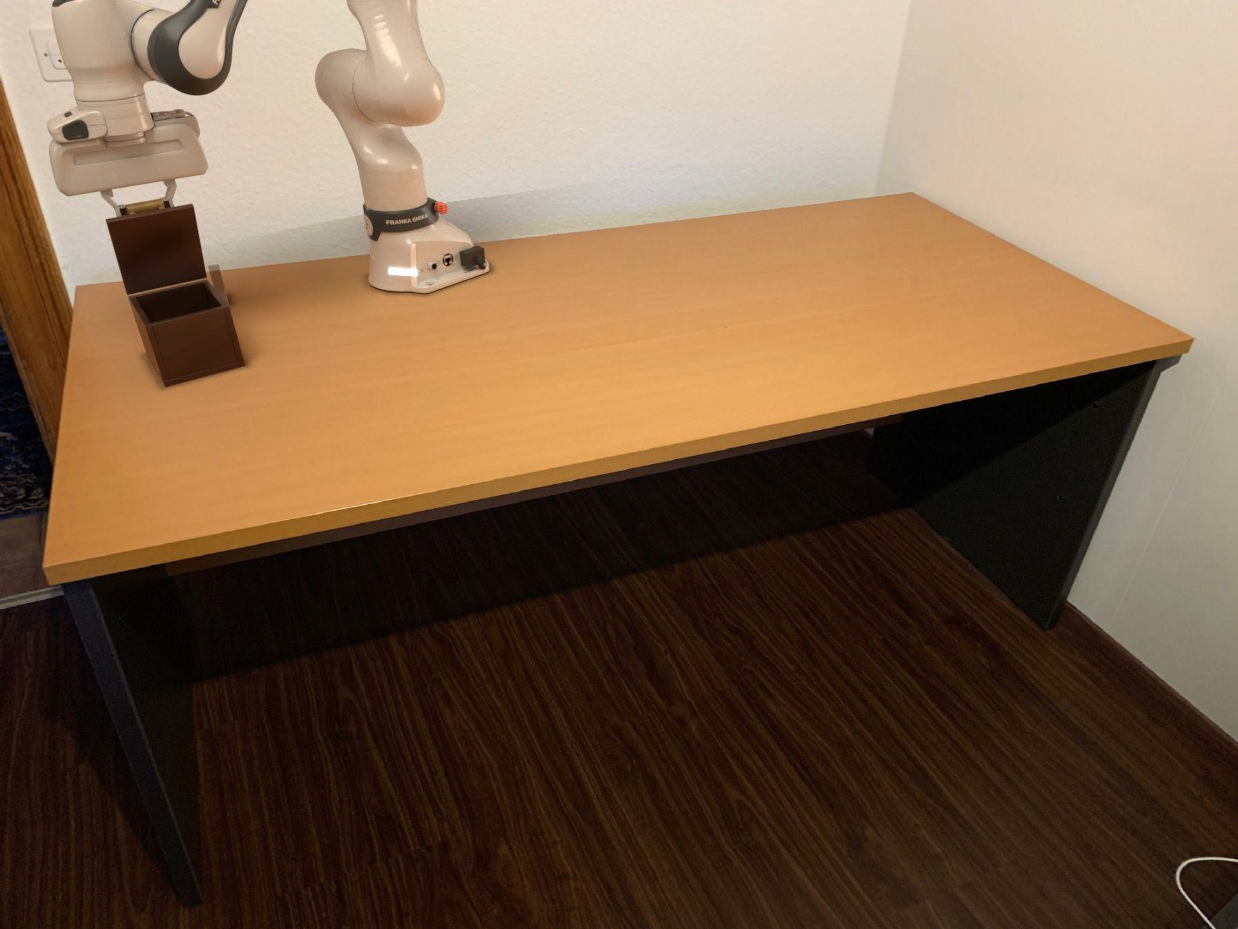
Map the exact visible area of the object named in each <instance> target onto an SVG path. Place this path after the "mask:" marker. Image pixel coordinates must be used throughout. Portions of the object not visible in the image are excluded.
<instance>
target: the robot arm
mask: <svg viewBox="0 0 1238 929" xmlns="http://www.w3.org/2000/svg"><path fill="white" fill-rule="evenodd" d="M248 1H249V0H187V1H186V3H185V4H184V5H183V6H181V7H180V8H178V9H177V10H175V11H171V10H168V9H163V8H159V7H154V6H151V5H147V4H143V3H141V2H138V1H135V0H53V1H52V3H51V18H52V25H53V30H54V34H55V39H56V42H57V46H58V49H59V53H60V56H61V60H62V62H63V65H64V68H66V70H67V72H68V73H69V76H70V78H71V80H72V84H73V96H74V100H75V104H76V106H74V107H72V108H70V109H68V110H65V111H64V112H61V113H59V114H57V115H55V116H53V117H51V118H49V119H47V122H46V128H47V131H48V134H49V135H50V137H51V138H52V139H51V141H50V143H49V146H48V156H49V162H50V167H51V172H52V176H53V180H54V182H55V186H56V188H57V190H58V192H60V193H61V194H63V195H64V196H66V197H74V196H80V195H87V194H92V193H98V192H99V193H100V195H101V197H102V199H103V200H104V201H105V202H106V203H108V204H109V205H110V206H111V208H113V209H114V213H115V216H116V217H120V216H125V215H128V213H127V209H126V207H125V205H126V204H124V203H121V204H118V203H117V202H116V201H115V200H114V199H112V198H114V197H115V196H114V193H113V190H117V189H124V188H129V187H136V186H141V185H147V184H153V183H160V182H162V183H163V185H164V186H165V187H166V191H165V195H164V196H161V197H160V198H161V199H162V201H163V203H164V206H165V208H170V207H175V203H174V201H173V199H174V198H175V197H174V196H175V194H176V191H177V187H178V186H177V182H176V180H177V179H183V178H185V179H186V178H190V177H197V176H203V175H206V173H207V171H208V169H209V163H208V160H207V157H206V154H205V151H204V148H203V147H202V144H201V141H200V140H199V138H200V135H201V128H200V125H199V120H198V118H197V117H196V116H195V115H194V114H193V112H192V113H191V112H190V111H186V110H184V109H182V108H177V109H173V110H161V111H153V112H151V109H150V105H149V103H148V98H147V95H146V91H145V88H144V87H145V84H146V83H149V82H157V83H160V84H163V85H166V86H168V87H171V88H172V89H173V90H176V91H177V92H179V93H182V94H185V95H188V96H194V97H195V96H196V97H198V96H200V97H201V96H205V95H210V94H212V93H214V92H215V91H217V90H218V89H219V88H221V87H222V86H223V84H224V83H225V82H226V80H227V79H228V77H229V75H230V72H231V68H232V63H233V62H232V61H233V49H234V39H235V34H236V31H237V28H238V25H239V22H240V21H241V18H242V15H243V13H244V11H245V8H246V6H247V3H248ZM345 2H346V6H347V9H348V10H349V12H350V13H351V15H352V16H353V17H354V18H355V19H356V21H357V22H358V24H359V26H360V29H361V31H362V34H363V39H364V43H365V49H360V48H353V47H352V48H351V47H350V48H344V49H339V50H336V51H331V52H328V53H326V54H325V55H324V56H322V57H321V59H320V60H319V61H318V63H317V65H316V68H315V73H314V84H315V89H316V91H317V95H318V97H319V99H320V100H321V101H322V103H323V104H324V105H325V106H327V108H328V109H329V110H330V111H331V112H332V114H333V115H334V116H335V118H336V119H337V120H336V121H338V123H339V125H340V127H341V129H342V131H343V133H344V135H345V137H346V139H347V141H348V144H349V146H350V148H351V151H352V154H353V156H354V159H355V163H356V166H357V171H358V176H359V181H360V187H361V191H362V196H363V202H364V203H363V204H362V211H363V221H364V228H365V231H366V234H367V237H368V239H369V240H368V241H369V271H368V279H367V282H368V283H369V285H370V286H372V287H374V288H376V289H379V290H382V291H388V292H412V293H417V294H428V293H429V294H430V293H432V292H435V291H438V290H440V289H443V288H446V287H449V286H452V285H456V284H458V283H461V282H464V281H466V280H469V279H472V278H476V277H477V276H481V275H483V274H486V273H488V272H490V263H489V261H488V260H487V258H486V254H485V248H484V247H482V246H480V245H474V243H473V240H472V239H471V237H470V236H469V235H468V233H467V232H465V231H464V230H463V229H461V228H459V227H457V226H456V225H454V224H453V223H451V222H450V221H447V219H444V218H443V217H441V215H442V216H444V215H446V214H448V212H449V209H450V208H449V205H447V203H445V202H443V201H441V200H440V201H438V200H436V199H434V198H432V197H428V193H427V185H426V179H425V178H426V177H425V169H424V164H423V163H424V162H423V158H422V156H421V153H420V152H419V150H418V149H417V147H416V146H414V144H413V143H412V142H411V141H410V140H409V139H408V137H407V135H406V134H405V131H404V130H403V128H411V127H412V128H413V127H421V126H427V125H430V124H432V123H434V122H435V121H436V120H437V119H438V118H439V117H440V115H441V113H442V111H443V109H444V106H445V102H446V88H445V83H444V80H443V77H442V76H441V74H440V72H439V71H438V69H437V68H436V67H435V65H434V64H433V63H432V61H431V59H430V58H429V55H428V53H427V50H426V48H425V45H424V41H423V37H422V34H421V30H420V24H419V16H418V14H419V12H418V0H346V1H345ZM402 127H403V128H402Z"/></svg>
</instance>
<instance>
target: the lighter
mask: <svg viewBox="0 0 1238 929" xmlns="http://www.w3.org/2000/svg"><path fill="white" fill-rule="evenodd" d="M207 268H208V272H209V276H210V279H211V284H212V286H213V287H214V288H215V290H216V291H217V292H218V293H219V294H220V296H221V297H222V298H223V299H224V301H225V302H226V303H227V304H228V305H229V304H230V302H229V297H228V295H227V291H226V287H225V282H224V280H223V275H222V271H221V268H220V264H213V265H208V266H207Z"/></svg>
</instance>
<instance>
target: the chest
mask: <svg viewBox="0 0 1238 929" xmlns="http://www.w3.org/2000/svg"><path fill="white" fill-rule="evenodd" d="M127 299H128V302H129V305H130V308H131V311H132V314H133V317H134V320H135V323H136V326H137V330H138V332H139V335H140V339H141V341H142V344H143V347H144V350H145V353H146V356H147V358H148V359H149V361H150V363H151V365H152V367H153V369H154V370H155V372H156V374H157V375H158V377H159V379H160V381H161V383H162V384H163V387H165V388H166V387H170V386H174V385H178V384H181V383H187V382H190V381H192V380H196V379H197V380H198V379H201V378H204V377H209V376H211V375H216V374H220V373H223V372H227V371H230V370H236V369H238V368H242V367H245V366H246V364H245V359H244V356H243V352H242V348H241V345H240V341H239V337H238V333H237V330H236V326H235V322H234V319H233V314H232V312H231V311H232V310H231V308H230V305H229V304H227V303H226V302H225V301H224V299H223V298H222V297H221V296H220V294H219V293H218V292H217V291H216V290H215V288H214V286H213V284H212V282H210V281H209V280H208V279H207V278H204V279H200V280H195V281H191V282H186V283H182V284H177V285H172V286H168V287H163V288H159V289H154V290H150V291H145V292H140V293H136V294H131V295H127Z"/></svg>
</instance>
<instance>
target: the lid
mask: <svg viewBox="0 0 1238 929" xmlns="http://www.w3.org/2000/svg"><path fill="white" fill-rule="evenodd" d="M161 198H162V197H159V198H154V199H149V200H144V201H138V202H131V203H126V204H124V205H125V207H126V209H127V213H128V215H125V216H120V217H117V216H116V217H109V218H105V224H106V227H107V230H108V234H109V238H110V241H111V244H112V249H113V252H114V255H115V258H116V262H117V266H118V270H119V273H120V276H121V279H122V283H123V287H124V290H125V294H126V295H127V296H131V295H136V294H140V293H145V292H149V291H154V290H159V289H163V288H168V287H172V286H177V285H182V284H186V283H191V282H195V281H200V280H205V279H207V278H208V275H207V268H206V264H205V260H204V253H203V248H202V242H201V238H200V232H199V227H198V221H197V216H196V211H195V206H194V204H193V203H187V204H182V205H176V206H175V205H174V207H170V208H165V206H164V203H163V201H162V199H161Z"/></svg>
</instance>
